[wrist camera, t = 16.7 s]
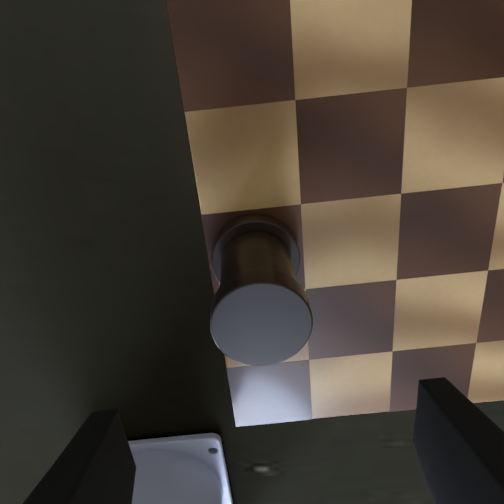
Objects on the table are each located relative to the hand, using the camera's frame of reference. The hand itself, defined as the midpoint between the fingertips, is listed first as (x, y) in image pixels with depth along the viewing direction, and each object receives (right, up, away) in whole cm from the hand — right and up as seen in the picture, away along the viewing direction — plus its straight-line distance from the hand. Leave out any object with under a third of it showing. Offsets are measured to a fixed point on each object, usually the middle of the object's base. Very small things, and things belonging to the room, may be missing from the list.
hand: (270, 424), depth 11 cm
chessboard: (+6, +5, +9) cm, 12 cm away
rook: (0, +4, +8) cm, 9 cm away
